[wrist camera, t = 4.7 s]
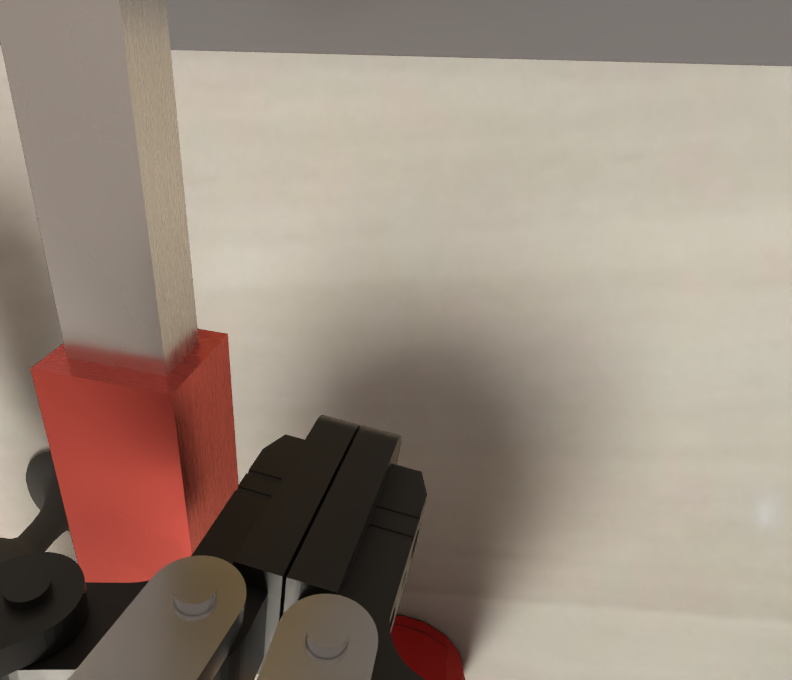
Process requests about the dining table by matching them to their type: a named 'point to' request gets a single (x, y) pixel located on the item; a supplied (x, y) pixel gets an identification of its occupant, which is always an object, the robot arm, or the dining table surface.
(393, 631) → the plastic cup
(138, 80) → the valve lever
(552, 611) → the dining table surface
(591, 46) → the valve stand
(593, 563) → the dining table surface
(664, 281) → the dining table surface
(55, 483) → the sundae
